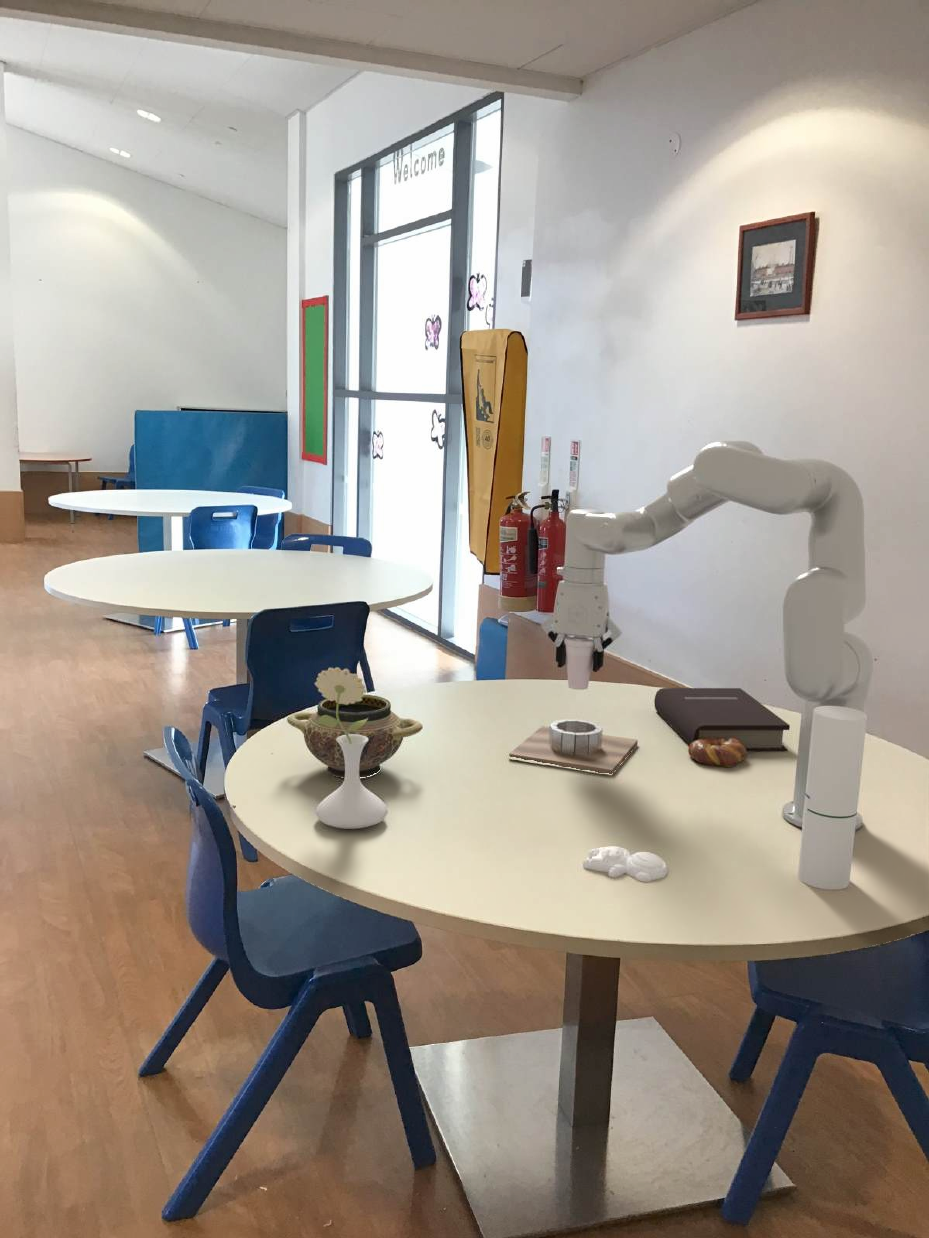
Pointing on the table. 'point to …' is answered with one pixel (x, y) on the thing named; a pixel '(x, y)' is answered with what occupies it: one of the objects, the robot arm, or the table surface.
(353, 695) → the flower in vase
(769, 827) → the table surface
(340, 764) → the ceramic bowl
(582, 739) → the steel sleeve
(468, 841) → the table surface
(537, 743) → the walnut board
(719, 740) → the pretzel
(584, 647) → the smoothie
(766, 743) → the book
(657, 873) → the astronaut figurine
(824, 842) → the cylindrical container
